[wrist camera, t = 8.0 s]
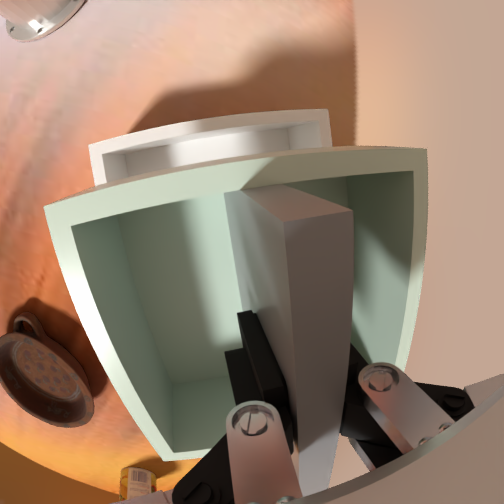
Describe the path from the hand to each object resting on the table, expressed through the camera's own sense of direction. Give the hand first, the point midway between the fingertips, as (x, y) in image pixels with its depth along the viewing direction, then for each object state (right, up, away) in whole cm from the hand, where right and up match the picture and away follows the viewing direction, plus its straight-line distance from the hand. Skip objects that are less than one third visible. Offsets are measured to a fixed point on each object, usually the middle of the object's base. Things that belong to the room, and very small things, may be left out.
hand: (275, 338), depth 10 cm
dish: (-32, -14, +23) cm, 41 cm away
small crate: (-1, +2, +5) cm, 6 cm away
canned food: (-25, -45, +34) cm, 62 cm away
